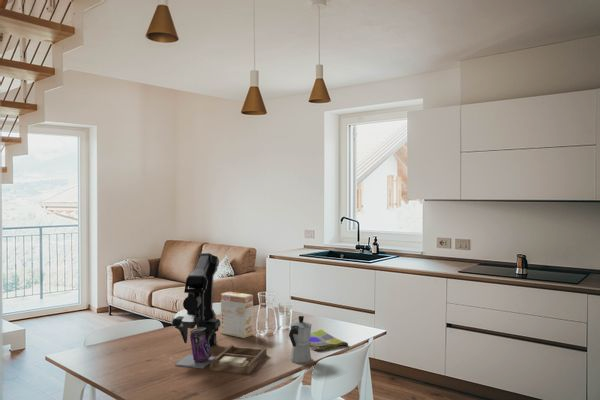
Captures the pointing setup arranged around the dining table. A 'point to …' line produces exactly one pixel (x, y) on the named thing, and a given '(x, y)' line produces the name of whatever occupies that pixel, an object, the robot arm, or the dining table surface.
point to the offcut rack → (241, 350)
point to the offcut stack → (233, 361)
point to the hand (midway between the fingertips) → (196, 344)
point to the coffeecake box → (237, 314)
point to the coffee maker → (300, 341)
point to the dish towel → (324, 341)
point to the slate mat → (193, 362)
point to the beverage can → (200, 345)
